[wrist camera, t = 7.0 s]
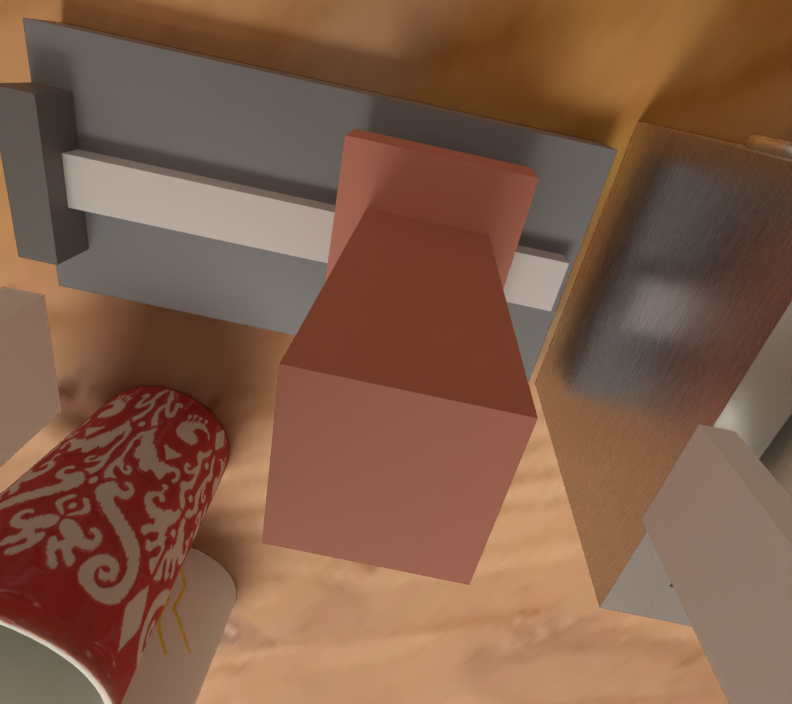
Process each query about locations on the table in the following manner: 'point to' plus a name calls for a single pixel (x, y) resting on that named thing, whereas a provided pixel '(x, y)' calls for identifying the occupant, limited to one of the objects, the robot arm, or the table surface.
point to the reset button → (780, 457)
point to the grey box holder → (669, 341)
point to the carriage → (406, 366)
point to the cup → (185, 634)
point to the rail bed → (241, 179)
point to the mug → (101, 545)
